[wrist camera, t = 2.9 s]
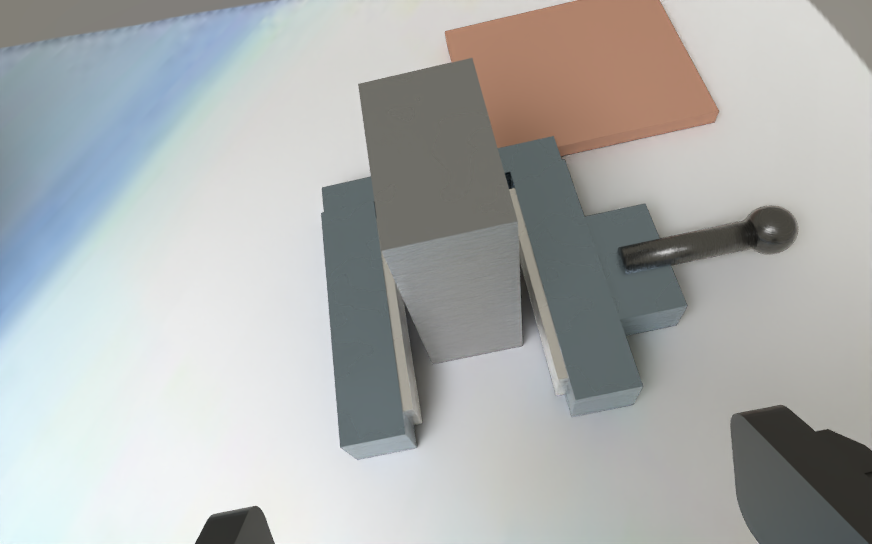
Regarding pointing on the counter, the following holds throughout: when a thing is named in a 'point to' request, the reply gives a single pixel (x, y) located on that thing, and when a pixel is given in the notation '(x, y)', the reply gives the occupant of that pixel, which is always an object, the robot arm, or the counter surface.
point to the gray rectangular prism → (444, 209)
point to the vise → (547, 287)
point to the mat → (584, 74)
